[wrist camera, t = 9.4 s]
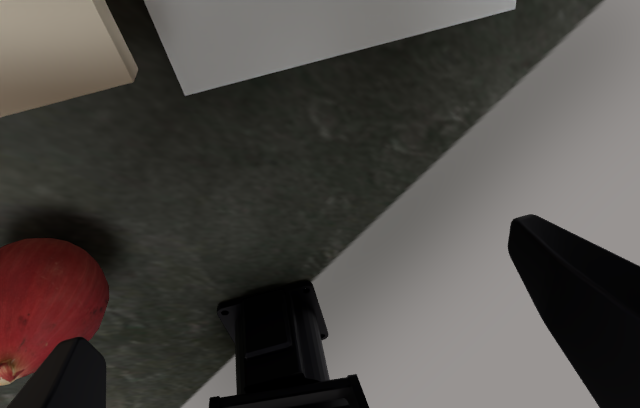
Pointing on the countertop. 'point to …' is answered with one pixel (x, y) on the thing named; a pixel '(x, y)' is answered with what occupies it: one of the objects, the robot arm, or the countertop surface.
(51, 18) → the board
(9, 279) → the onion
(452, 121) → the countertop surface
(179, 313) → the countertop surface
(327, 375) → the robot arm
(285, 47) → the mat
